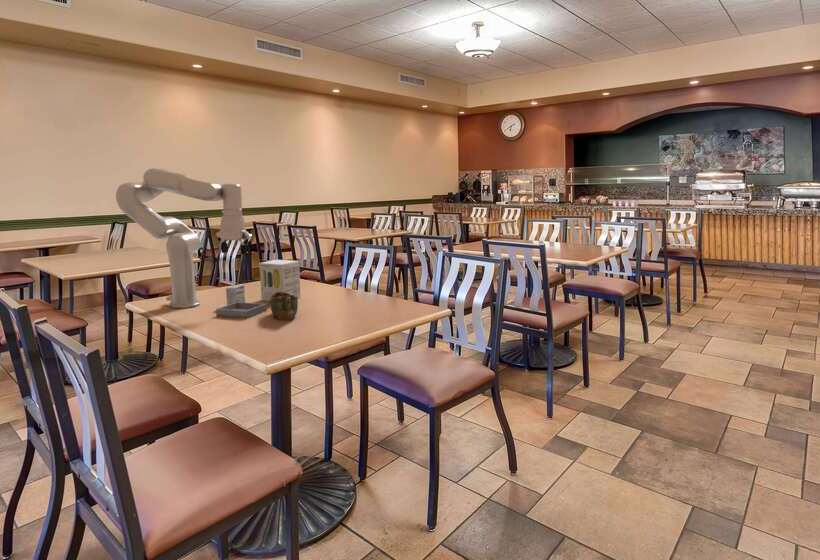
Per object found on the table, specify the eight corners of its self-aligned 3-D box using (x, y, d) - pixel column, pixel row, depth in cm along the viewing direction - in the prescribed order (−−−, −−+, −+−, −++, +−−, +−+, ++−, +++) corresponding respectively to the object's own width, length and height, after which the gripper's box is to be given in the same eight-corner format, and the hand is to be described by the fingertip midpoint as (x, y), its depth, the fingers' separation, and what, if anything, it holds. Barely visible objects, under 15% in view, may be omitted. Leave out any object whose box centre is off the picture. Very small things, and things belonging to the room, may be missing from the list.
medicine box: (236, 308, 225) (235, 288, 223) (226, 307, 225) (225, 287, 224) (245, 304, 232) (244, 285, 231) (236, 303, 233) (235, 284, 232)
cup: (259, 322, 200) (258, 296, 198) (275, 311, 219) (274, 287, 218) (292, 323, 199) (291, 297, 197) (305, 312, 219) (305, 288, 217)
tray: (216, 316, 210) (216, 309, 209) (237, 308, 223) (237, 301, 222) (246, 318, 206) (246, 311, 205) (266, 311, 219) (265, 304, 218)
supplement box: (260, 300, 240) (258, 262, 237) (278, 295, 252) (276, 259, 249) (284, 302, 235) (282, 264, 232) (301, 297, 247) (299, 260, 244)
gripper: (209, 212, 220) (211, 253, 223) (244, 214, 215) (246, 255, 218) (221, 212, 228) (223, 251, 230) (255, 213, 222) (256, 253, 225)
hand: (234, 253), depth 224 cm, fingers open, 9 cm apart
